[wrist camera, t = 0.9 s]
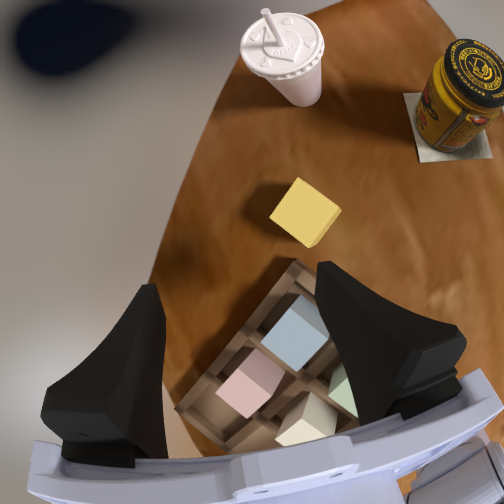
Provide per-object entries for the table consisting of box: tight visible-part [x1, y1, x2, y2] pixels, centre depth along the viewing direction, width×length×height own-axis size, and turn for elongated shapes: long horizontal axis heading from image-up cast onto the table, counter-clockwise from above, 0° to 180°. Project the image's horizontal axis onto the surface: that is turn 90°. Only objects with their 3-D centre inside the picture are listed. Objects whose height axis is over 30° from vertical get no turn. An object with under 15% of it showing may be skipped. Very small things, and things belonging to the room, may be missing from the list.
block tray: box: [174, 259, 360, 455], centre depth 29 cm, size 16×24×2 cm
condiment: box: [403, 39, 504, 162], centre depth 17 cm, size 7×8×12 cm
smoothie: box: [240, 8, 324, 107], centre depth 20 cm, size 6×6×14 cm
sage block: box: [328, 362, 358, 418], centre depth 24 cm, size 4×4×5 cm
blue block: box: [260, 295, 330, 372], centre depth 26 cm, size 4×4×5 cm
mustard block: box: [269, 178, 342, 248], centre depth 26 cm, size 4×4×5 cm
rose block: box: [215, 348, 285, 419], centre depth 28 cm, size 4×4×5 cm
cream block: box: [275, 392, 338, 446], centre depth 26 cm, size 4×4×5 cm
